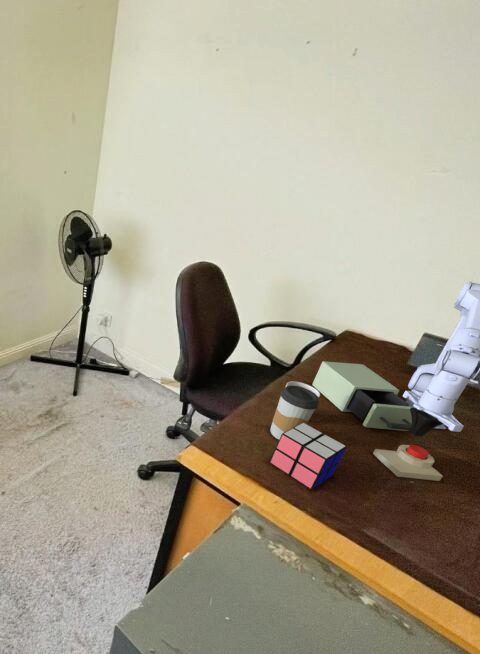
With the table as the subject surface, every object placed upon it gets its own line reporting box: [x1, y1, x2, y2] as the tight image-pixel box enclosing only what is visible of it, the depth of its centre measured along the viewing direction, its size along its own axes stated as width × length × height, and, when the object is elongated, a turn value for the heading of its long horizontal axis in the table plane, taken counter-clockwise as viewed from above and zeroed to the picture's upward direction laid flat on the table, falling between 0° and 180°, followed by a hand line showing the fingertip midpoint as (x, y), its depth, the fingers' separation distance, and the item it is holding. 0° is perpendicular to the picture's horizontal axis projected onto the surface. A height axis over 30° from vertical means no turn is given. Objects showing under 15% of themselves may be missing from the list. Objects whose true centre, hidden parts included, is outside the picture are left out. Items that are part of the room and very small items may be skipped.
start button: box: [407, 444, 430, 460], centre depth 107 cm, size 4×4×2 cm
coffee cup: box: [269, 385, 320, 440], centre depth 114 cm, size 8×8×15 cm
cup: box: [284, 380, 321, 399], centre depth 124 cm, size 8×8×10 cm
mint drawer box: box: [311, 361, 400, 413], centre depth 132 cm, size 15×13×10 cm
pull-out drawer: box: [347, 389, 415, 432], centre depth 123 cm, size 18×11×8 cm, turn 173°
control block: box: [372, 444, 444, 482], centre depth 107 cm, size 11×9×4 cm
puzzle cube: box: [269, 423, 348, 490], centre depth 104 cm, size 10×10×10 cm
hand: (416, 434), depth 111 cm, fingers closed
